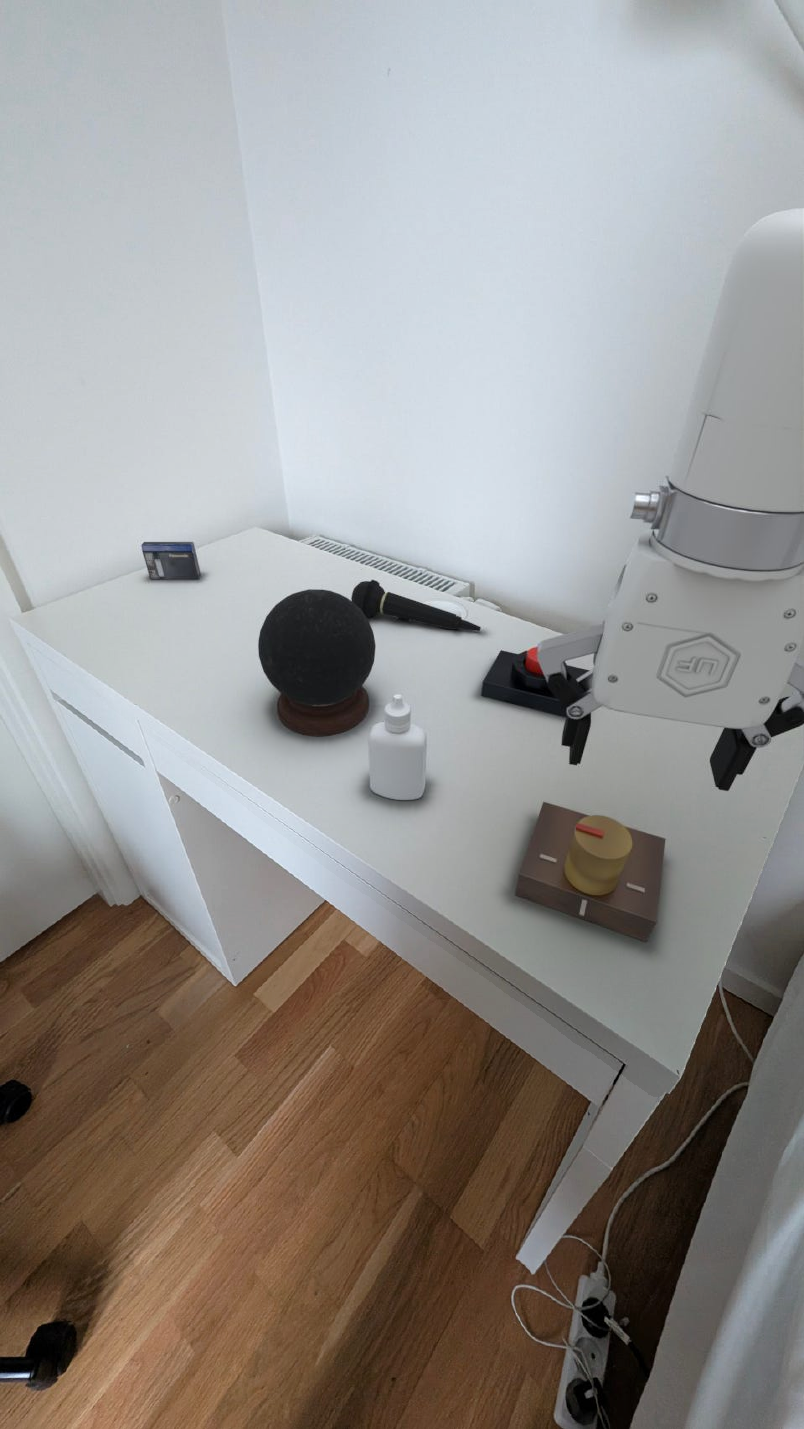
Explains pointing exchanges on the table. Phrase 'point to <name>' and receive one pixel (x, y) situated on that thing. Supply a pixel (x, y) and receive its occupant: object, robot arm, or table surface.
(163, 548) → the mini dv tape
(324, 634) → the black ball on stand
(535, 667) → the button
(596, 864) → the knob
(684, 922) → the table surface
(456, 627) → the microphone
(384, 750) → the eye dropper bottle
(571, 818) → the panel
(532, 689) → the button box
